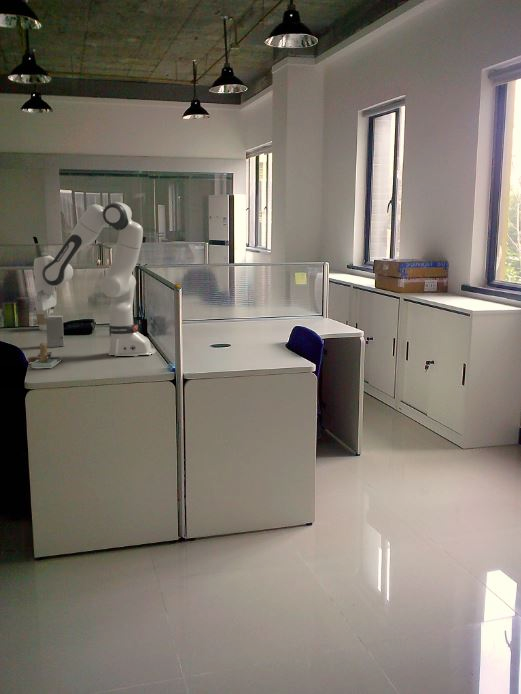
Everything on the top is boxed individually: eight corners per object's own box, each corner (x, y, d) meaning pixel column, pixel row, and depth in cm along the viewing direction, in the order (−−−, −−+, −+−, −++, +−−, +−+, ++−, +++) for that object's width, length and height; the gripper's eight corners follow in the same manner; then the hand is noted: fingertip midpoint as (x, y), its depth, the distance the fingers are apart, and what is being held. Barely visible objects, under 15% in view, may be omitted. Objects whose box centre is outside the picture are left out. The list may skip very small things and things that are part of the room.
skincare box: (47, 347, 345) (44, 317, 342) (48, 345, 352) (45, 315, 349) (64, 346, 348) (62, 316, 344) (64, 344, 354) (62, 314, 351)
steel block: (52, 357, 324) (51, 352, 324) (51, 359, 320) (50, 354, 319) (39, 357, 323) (38, 352, 323) (37, 360, 318) (37, 355, 318)
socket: (61, 361, 313) (61, 357, 313) (57, 364, 307) (57, 359, 307) (48, 361, 313) (48, 357, 313) (44, 364, 307) (44, 360, 307)
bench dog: (43, 362, 311) (43, 356, 310) (41, 364, 308) (41, 357, 307) (30, 362, 311) (30, 356, 311) (28, 364, 308) (28, 357, 308)
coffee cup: (36, 328, 405) (34, 303, 402) (55, 327, 408) (53, 302, 405) (35, 331, 395) (33, 306, 392) (56, 330, 398) (54, 305, 395)
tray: (57, 364, 306) (57, 359, 305) (51, 368, 298) (51, 363, 297) (37, 365, 306) (37, 359, 306) (31, 369, 298) (31, 363, 298)
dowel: (48, 365, 303) (47, 343, 301) (46, 366, 301) (45, 344, 298) (41, 364, 303) (41, 343, 301) (39, 366, 300) (39, 344, 298)
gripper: (44, 291, 313) (46, 321, 315) (58, 286, 333) (60, 314, 335) (30, 292, 313) (33, 321, 316) (45, 287, 333) (47, 314, 336)
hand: (47, 317), depth 326 cm, fingers closed
